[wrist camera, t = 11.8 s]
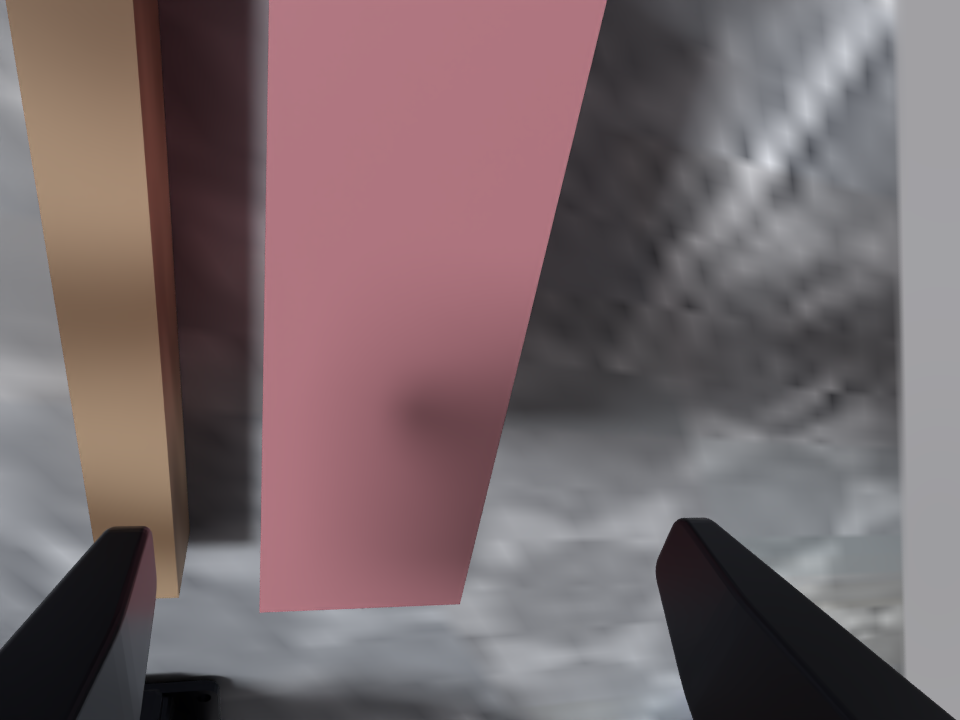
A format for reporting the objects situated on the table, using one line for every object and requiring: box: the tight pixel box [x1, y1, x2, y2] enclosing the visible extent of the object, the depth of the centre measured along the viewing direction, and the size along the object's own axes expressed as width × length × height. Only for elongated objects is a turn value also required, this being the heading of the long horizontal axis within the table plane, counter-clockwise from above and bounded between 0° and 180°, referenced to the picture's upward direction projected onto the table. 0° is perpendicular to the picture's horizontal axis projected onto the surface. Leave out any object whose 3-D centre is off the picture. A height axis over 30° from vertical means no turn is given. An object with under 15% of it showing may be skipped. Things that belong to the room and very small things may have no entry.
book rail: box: [6, 0, 190, 598], centre depth 18 cm, size 18×2×2 cm, turn 170°
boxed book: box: [260, 0, 607, 612], centre depth 15 cm, size 12×4×8 cm, turn 170°
